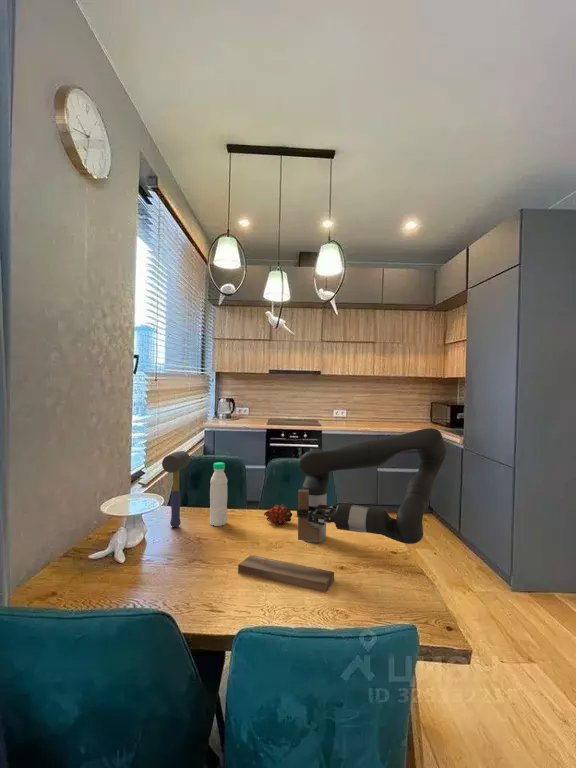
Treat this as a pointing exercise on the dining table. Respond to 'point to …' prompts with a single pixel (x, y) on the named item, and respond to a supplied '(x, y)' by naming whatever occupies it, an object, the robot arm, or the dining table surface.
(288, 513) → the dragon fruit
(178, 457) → the rubber mallet
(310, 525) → the wooden block
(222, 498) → the water bottle
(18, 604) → the dining table surface
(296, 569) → the walnut plank
